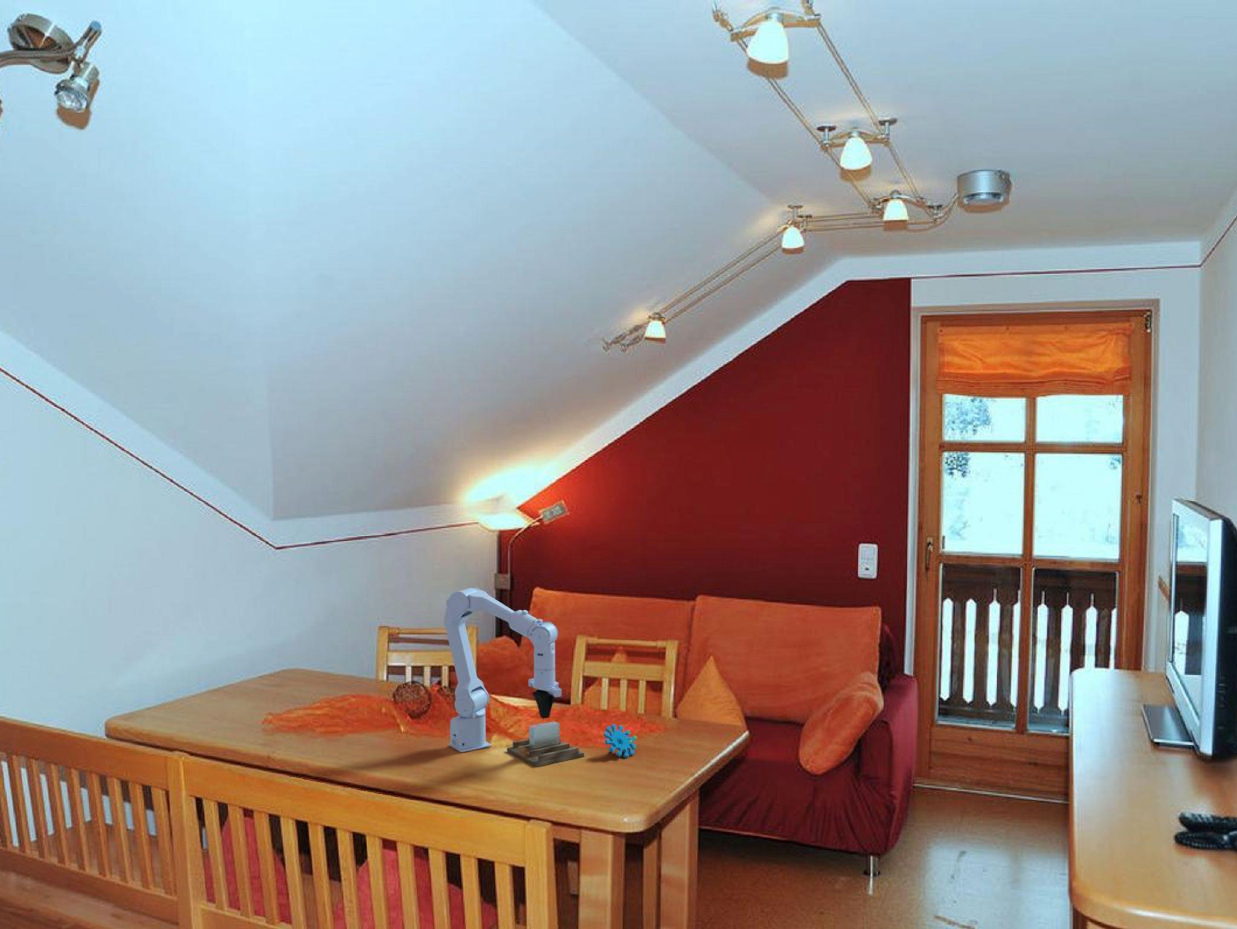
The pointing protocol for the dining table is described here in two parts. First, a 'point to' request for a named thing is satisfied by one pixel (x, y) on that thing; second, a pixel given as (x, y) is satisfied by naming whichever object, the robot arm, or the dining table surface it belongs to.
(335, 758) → the dining table surface
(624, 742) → the gear
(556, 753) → the slot rack
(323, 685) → the dining table surface
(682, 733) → the dining table surface
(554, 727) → the panel
